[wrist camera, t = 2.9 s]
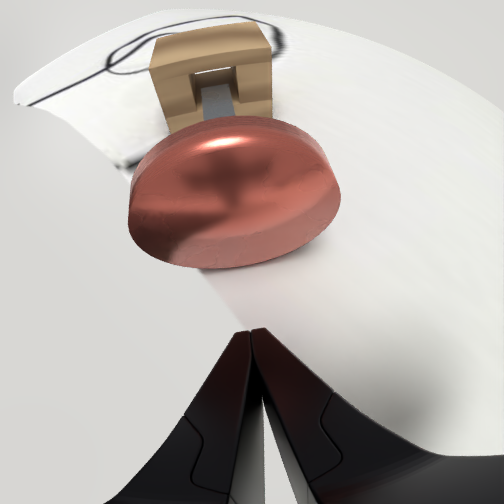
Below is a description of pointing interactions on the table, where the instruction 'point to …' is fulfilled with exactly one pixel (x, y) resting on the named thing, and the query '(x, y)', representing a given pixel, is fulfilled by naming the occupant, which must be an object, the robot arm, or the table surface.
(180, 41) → the tan block
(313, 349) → the table surface
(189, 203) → the copper disc handle
